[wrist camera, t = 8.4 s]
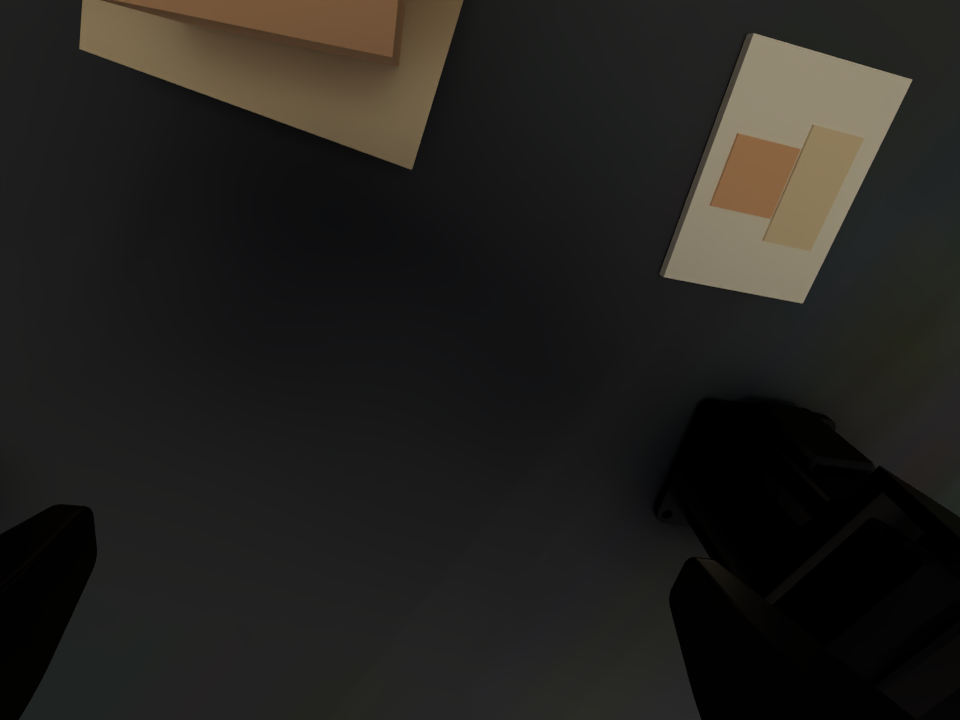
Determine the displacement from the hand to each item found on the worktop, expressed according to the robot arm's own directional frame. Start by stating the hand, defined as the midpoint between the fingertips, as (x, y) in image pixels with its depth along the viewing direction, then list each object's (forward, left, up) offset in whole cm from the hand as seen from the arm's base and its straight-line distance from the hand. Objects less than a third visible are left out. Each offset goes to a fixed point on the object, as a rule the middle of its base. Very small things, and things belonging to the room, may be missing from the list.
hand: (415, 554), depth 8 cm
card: (+6, -12, -13) cm, 19 cm away
